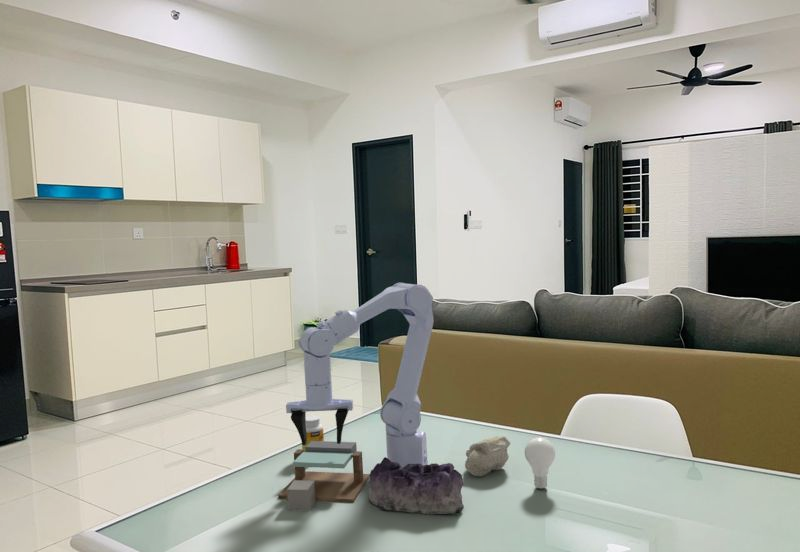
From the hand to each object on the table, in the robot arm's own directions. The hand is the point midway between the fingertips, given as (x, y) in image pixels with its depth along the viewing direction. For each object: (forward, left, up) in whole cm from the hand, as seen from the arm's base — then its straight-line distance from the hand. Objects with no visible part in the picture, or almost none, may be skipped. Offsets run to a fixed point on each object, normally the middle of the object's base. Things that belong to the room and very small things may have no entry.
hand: (321, 442), depth 130 cm
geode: (-22, +5, -11) cm, 25 cm away
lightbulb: (-47, -5, -11) cm, 48 cm away
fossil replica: (-35, -13, -11) cm, 39 cm away
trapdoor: (0, -2, -5) cm, 5 cm away
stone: (+2, +8, -10) cm, 14 cm away
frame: (0, -1, -10) cm, 10 cm away
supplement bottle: (+9, -17, -11) cm, 22 cm away
